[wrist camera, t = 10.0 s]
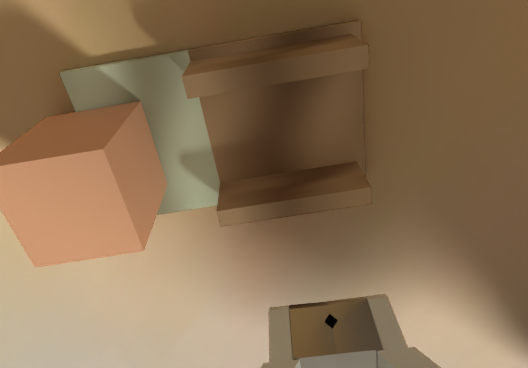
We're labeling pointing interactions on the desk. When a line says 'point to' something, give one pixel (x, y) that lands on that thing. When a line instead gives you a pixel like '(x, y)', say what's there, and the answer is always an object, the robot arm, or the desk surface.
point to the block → (83, 185)
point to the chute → (249, 121)
